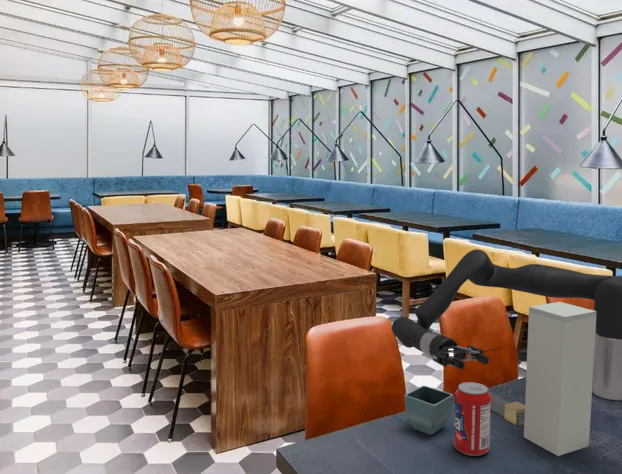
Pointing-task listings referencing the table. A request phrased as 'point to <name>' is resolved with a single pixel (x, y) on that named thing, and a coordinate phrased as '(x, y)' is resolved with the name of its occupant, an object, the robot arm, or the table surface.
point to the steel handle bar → (508, 410)
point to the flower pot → (428, 409)
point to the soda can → (472, 419)
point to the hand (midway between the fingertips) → (475, 363)
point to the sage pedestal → (559, 376)
